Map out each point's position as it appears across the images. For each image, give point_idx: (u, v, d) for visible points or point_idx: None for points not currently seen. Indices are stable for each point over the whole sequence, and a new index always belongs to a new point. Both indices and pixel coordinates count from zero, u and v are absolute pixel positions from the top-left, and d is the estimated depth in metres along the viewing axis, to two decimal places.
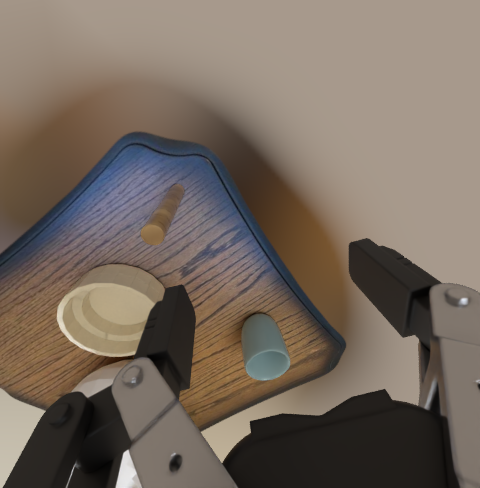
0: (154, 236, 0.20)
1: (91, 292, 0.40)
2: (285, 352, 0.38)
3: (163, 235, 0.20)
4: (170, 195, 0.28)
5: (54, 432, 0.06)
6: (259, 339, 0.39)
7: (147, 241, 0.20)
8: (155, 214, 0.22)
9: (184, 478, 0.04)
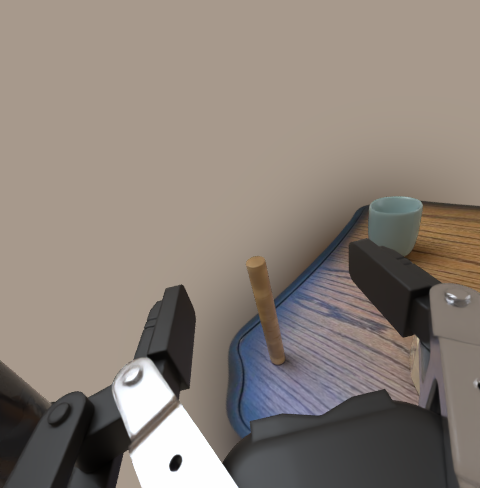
0: (256, 260, 0.24)
1: None
2: None
3: (253, 257, 0.24)
4: (262, 326, 0.28)
5: (54, 432, 0.06)
6: (379, 225, 0.40)
7: (261, 262, 0.23)
8: None
9: (184, 478, 0.04)
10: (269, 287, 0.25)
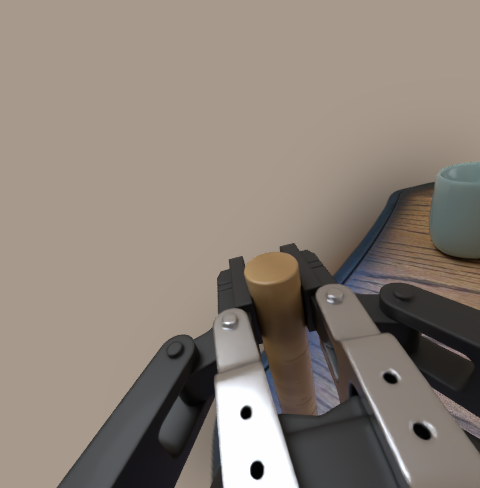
0: (271, 262, 0.09)
1: None
2: (436, 176, 0.27)
3: (264, 254, 0.09)
4: None
5: (169, 363, 0.07)
6: (460, 204, 0.24)
7: (289, 269, 0.08)
8: None
9: (249, 430, 0.04)
10: (305, 333, 0.09)
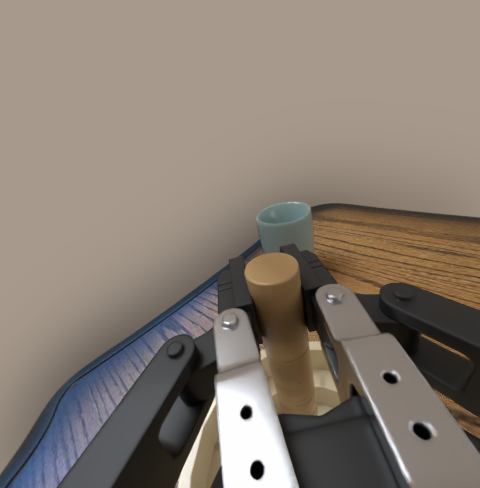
0: (272, 263, 0.09)
1: None
2: None
3: (265, 255, 0.09)
4: None
5: (169, 363, 0.07)
6: (263, 237, 0.33)
7: (290, 269, 0.08)
8: None
9: (249, 430, 0.04)
10: (305, 334, 0.09)
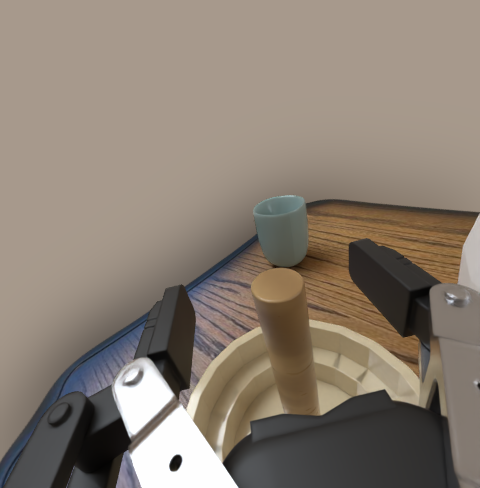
0: (278, 279, 0.09)
1: None
2: None
3: (270, 270, 0.09)
4: None
5: (54, 432, 0.06)
6: (259, 229, 0.34)
7: (295, 286, 0.08)
8: (265, 341, 0.10)
9: (184, 478, 0.04)
10: (310, 346, 0.10)
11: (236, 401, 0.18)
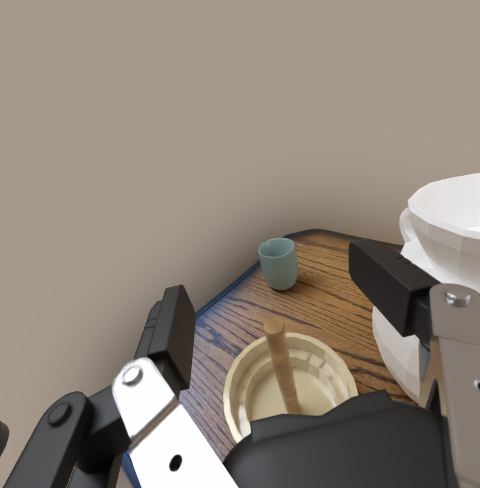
0: (273, 323, 0.23)
1: None
2: None
3: (270, 318, 0.23)
4: None
5: (55, 432, 0.06)
6: (262, 264, 0.48)
7: (280, 327, 0.22)
8: (268, 347, 0.24)
9: (184, 478, 0.04)
10: (287, 349, 0.24)
11: (251, 379, 0.32)
